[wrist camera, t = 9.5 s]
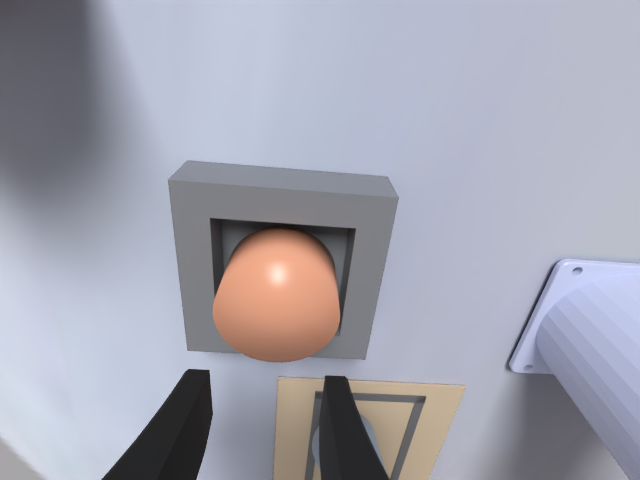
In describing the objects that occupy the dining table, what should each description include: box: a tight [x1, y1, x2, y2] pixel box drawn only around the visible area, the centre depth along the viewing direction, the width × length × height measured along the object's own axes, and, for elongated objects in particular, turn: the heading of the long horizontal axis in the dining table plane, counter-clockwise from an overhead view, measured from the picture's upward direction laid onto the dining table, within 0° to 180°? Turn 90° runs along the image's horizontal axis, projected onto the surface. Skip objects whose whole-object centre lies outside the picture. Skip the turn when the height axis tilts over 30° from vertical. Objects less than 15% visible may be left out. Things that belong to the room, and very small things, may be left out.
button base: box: [168, 161, 399, 360], centre depth 18 cm, size 9×9×2 cm
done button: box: [213, 226, 340, 362], centre depth 16 cm, size 5×5×3 cm
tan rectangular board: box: [273, 377, 466, 480], centre depth 27 cm, size 12×16×1 cm
